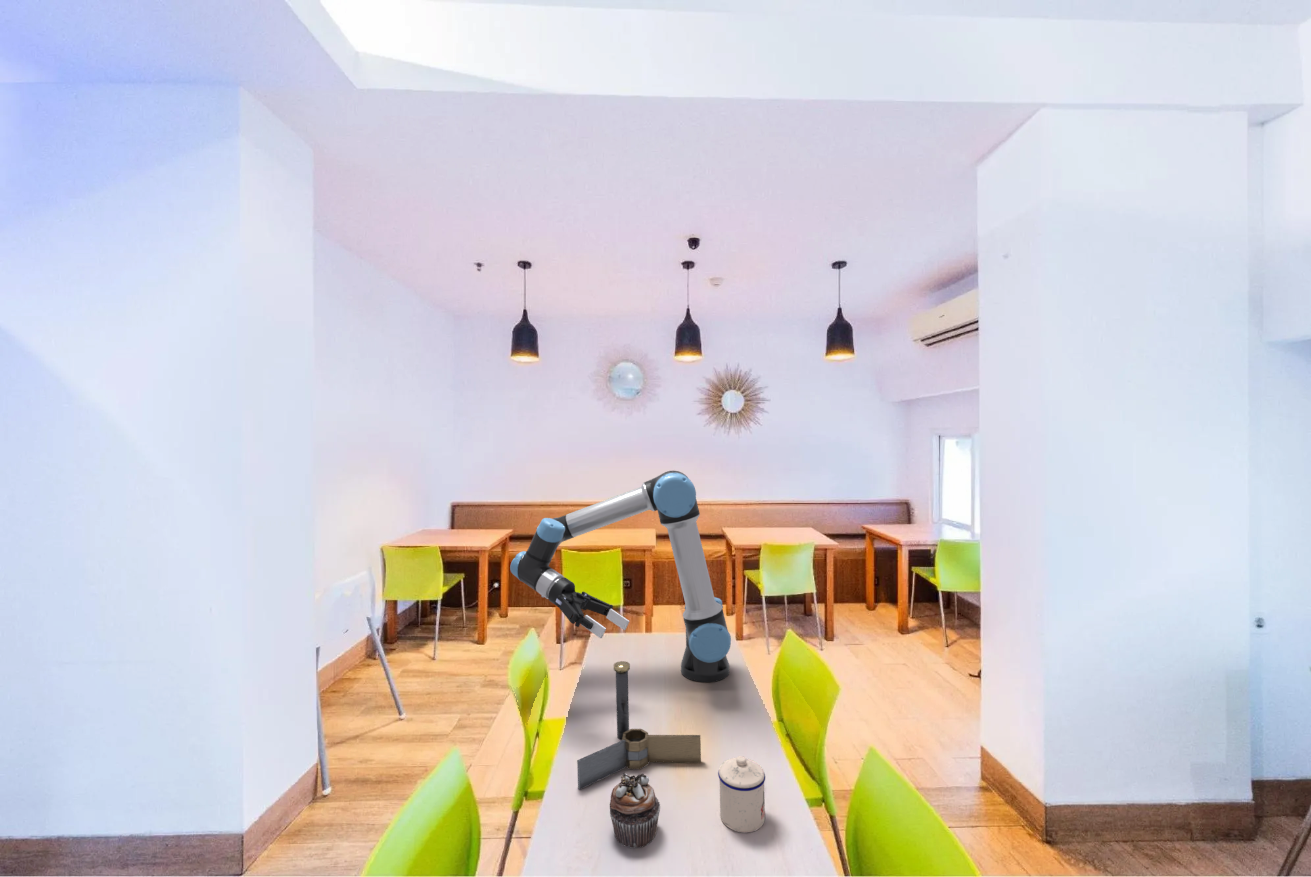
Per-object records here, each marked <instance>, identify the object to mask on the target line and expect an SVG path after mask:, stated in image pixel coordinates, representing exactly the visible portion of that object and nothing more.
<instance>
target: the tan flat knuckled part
mask: <svg viewBox="0 0 1311 877" xmlns="http://www.w3.org/2000/svg"><path fill="white" fill-rule="evenodd" d="M632 738H641V739H643V740H641V741H639V742H630V741H629V740H630V739H632ZM624 739H625V741H626V750H628V751H635V752H640V751H642V750H643V749H645V748H647V747H648V756H647V757H645V758H643V759H641V760H639V761H637V760H628V759H626V762H627V767H626V769H630V770H641V769H643V768H645V767H646V766H648V765H649V763H678V764H679V763H681V764H682V763H687V764H688V763H690V764H691V763H696V764H697V763H699V764H700V763H702V751H701V748H702V747H701V734H649V732H648V731H646V730H644V729H642V728H629V730H628V731H626V732H624V733H623V737H622V740H624ZM622 740H621V741H622Z"/></svg>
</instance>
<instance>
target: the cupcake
mask: <svg viewBox="0 0 1311 877" xmlns="http://www.w3.org/2000/svg"><path fill="white" fill-rule="evenodd" d="M620 779H621V780H620V782H618V783H617V784H616V785H615V786H614V787H613V788H612V790H611V794H610V802H609V815H610V820H611V824H612V827H613V832H614V837H615V838H616V841H617V842H618V843H620V845H622V846H624V847H627V848H633V849H637V848H638V849H640V848H641V847H642V846H643V847H645V846H647V845H649V844H650V843H651V842H653V841H652V840H654V838H656V834H657V828H658V822H659V817H660V811H661V804H660V801H659V799H658V798H657V796H656V793H655V789H654V788H653V786H652V785H651V784H650V778H649V776H647V775H646V774H645V773H640V774H638V775H634V774H633V775H631V776H630V775H629V774H627V773H626V772H625V771H624V772H623V773H622V774H621V777H620Z"/></svg>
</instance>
